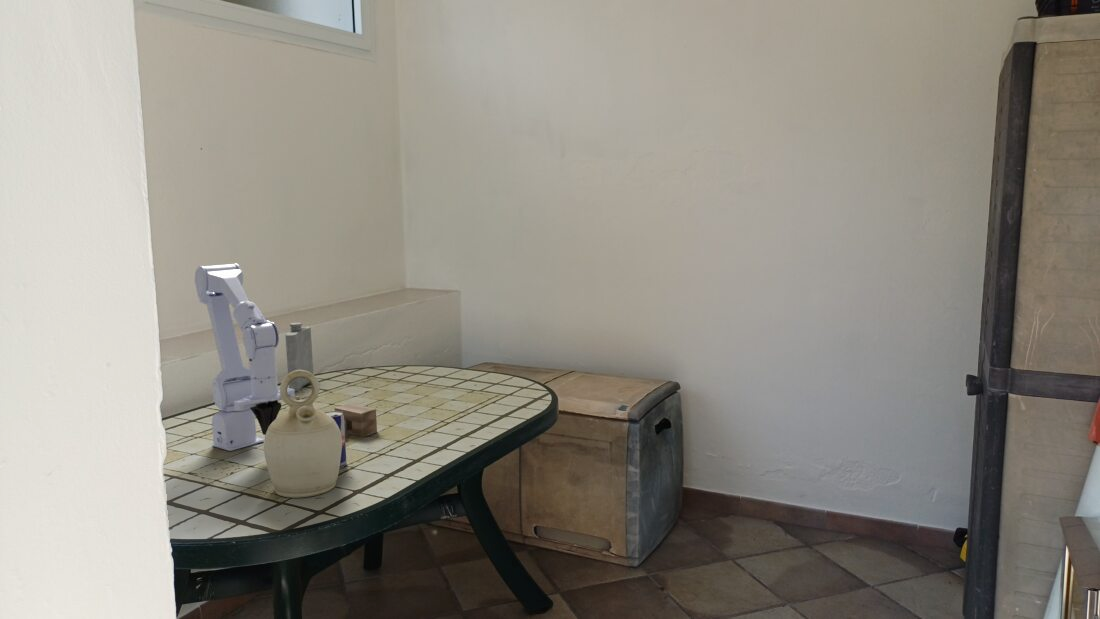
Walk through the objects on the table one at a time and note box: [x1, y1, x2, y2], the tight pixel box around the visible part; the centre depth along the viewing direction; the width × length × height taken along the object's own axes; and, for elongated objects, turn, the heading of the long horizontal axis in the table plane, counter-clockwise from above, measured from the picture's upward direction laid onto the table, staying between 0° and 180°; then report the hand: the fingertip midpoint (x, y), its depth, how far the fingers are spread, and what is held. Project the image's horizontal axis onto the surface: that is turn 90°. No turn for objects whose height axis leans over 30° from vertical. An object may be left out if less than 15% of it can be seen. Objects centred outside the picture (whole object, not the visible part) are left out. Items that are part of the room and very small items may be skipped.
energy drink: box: [323, 410, 348, 470], centre depth 184 cm, size 5×5×12 cm
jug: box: [263, 370, 342, 499], centre depth 170 cm, size 15×16×25 cm
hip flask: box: [284, 322, 314, 392], centre depth 261 cm, size 16×4×20 cm, turn 177°
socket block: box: [334, 403, 378, 438], centre depth 211 cm, size 5×10×6 cm, turn 53°
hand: (267, 434), depth 190 cm, fingers closed
